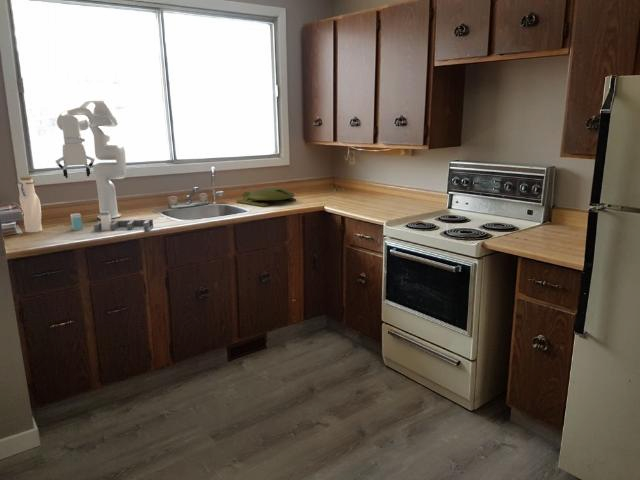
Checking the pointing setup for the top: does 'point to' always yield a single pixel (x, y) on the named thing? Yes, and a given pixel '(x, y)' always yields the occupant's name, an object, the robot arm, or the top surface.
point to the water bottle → (30, 205)
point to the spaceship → (266, 196)
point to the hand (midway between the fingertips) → (77, 177)
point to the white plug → (105, 220)
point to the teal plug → (76, 221)
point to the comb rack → (126, 225)
